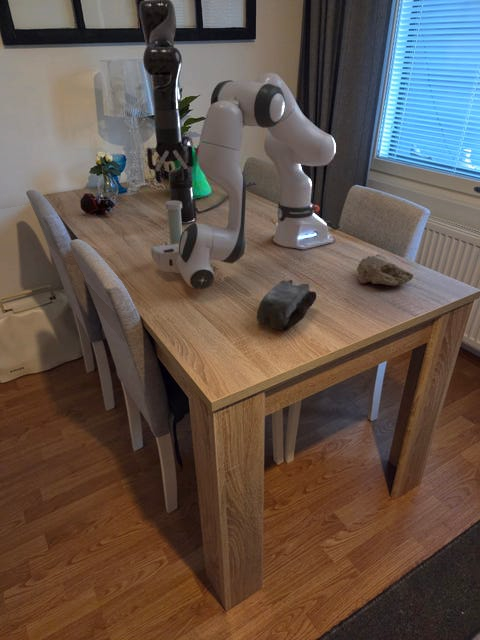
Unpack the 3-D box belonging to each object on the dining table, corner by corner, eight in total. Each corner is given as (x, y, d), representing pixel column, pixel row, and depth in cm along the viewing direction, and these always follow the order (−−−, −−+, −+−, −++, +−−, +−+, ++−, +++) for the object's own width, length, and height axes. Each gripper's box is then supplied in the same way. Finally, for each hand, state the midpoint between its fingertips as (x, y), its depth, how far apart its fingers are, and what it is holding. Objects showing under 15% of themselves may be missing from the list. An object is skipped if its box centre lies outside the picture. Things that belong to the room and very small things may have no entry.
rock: (291, 341, 110) (294, 313, 105) (251, 329, 114) (251, 302, 110) (317, 308, 123) (320, 283, 119) (280, 299, 128) (281, 274, 124)
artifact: (374, 296, 130) (415, 290, 135) (381, 274, 126) (423, 268, 131) (341, 267, 144) (380, 262, 149) (346, 246, 140) (385, 242, 145)
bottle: (182, 253, 156) (178, 201, 147) (185, 257, 153) (181, 205, 143) (170, 254, 155) (165, 203, 145) (173, 259, 152) (168, 206, 142)
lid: (179, 204, 148) (179, 199, 147) (183, 209, 144) (183, 204, 143) (164, 206, 146) (164, 201, 145) (167, 211, 142) (167, 206, 141)
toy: (107, 186, 182) (78, 185, 188) (99, 205, 180) (70, 204, 185) (122, 203, 193) (95, 201, 198) (115, 222, 190) (87, 220, 196)
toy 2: (167, 190, 223) (163, 137, 210) (207, 188, 227) (205, 135, 214) (172, 202, 206) (167, 145, 193) (214, 199, 210) (213, 143, 197)
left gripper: (188, 122, 137) (191, 177, 145) (141, 124, 133) (147, 180, 142) (194, 126, 131) (196, 182, 139) (145, 128, 127) (151, 186, 136)
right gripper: (220, 244, 139) (207, 229, 150) (155, 253, 133) (147, 237, 144) (220, 263, 142) (208, 247, 153) (157, 272, 136) (149, 255, 148)
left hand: (172, 181), depth 140 cm, fingers open, 7 cm apart
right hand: (178, 242), depth 149 cm, fingers open, 8 cm apart
